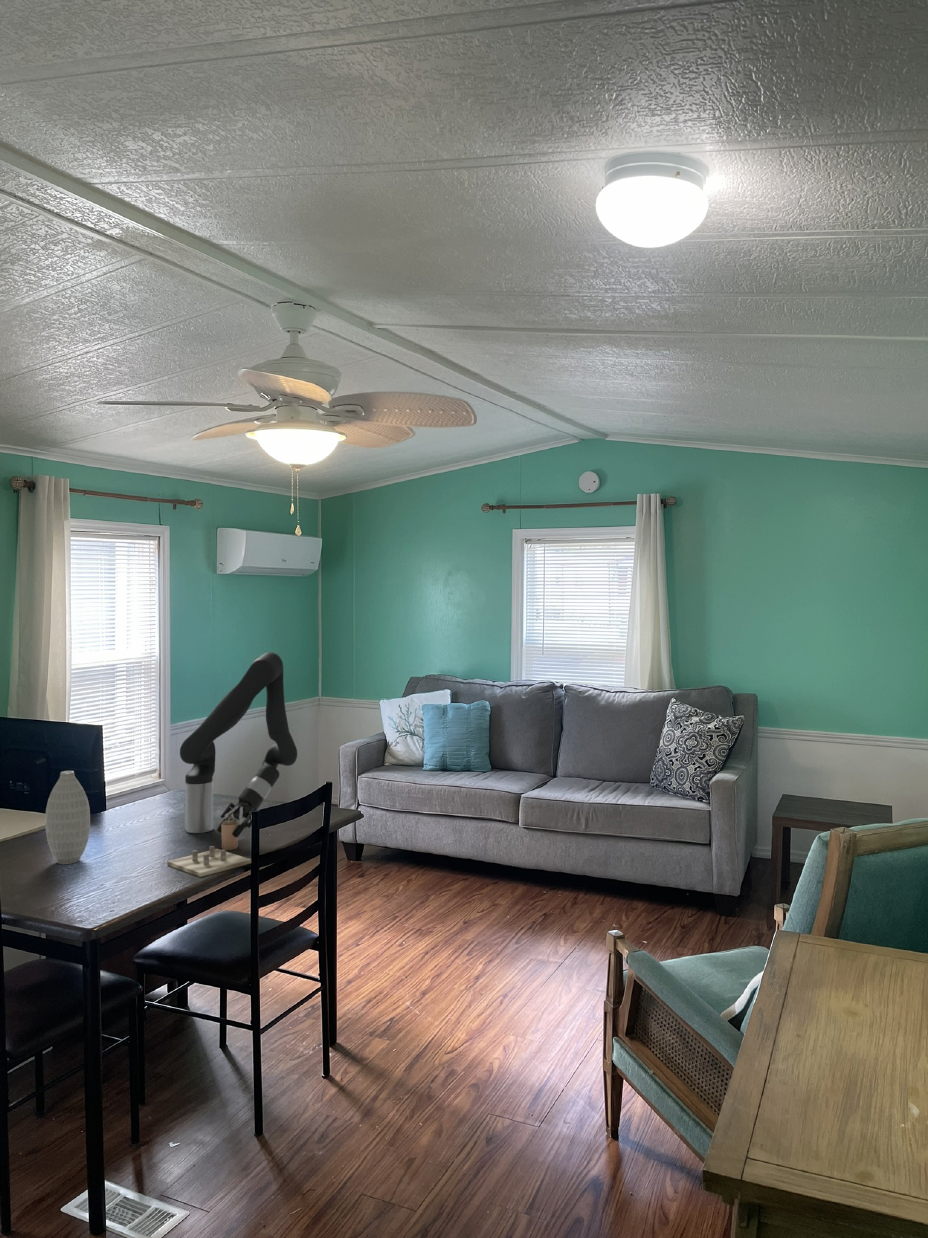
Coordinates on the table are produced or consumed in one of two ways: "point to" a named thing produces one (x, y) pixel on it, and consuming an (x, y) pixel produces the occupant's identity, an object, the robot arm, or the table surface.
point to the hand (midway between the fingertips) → (226, 834)
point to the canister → (229, 834)
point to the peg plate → (212, 861)
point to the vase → (67, 819)
